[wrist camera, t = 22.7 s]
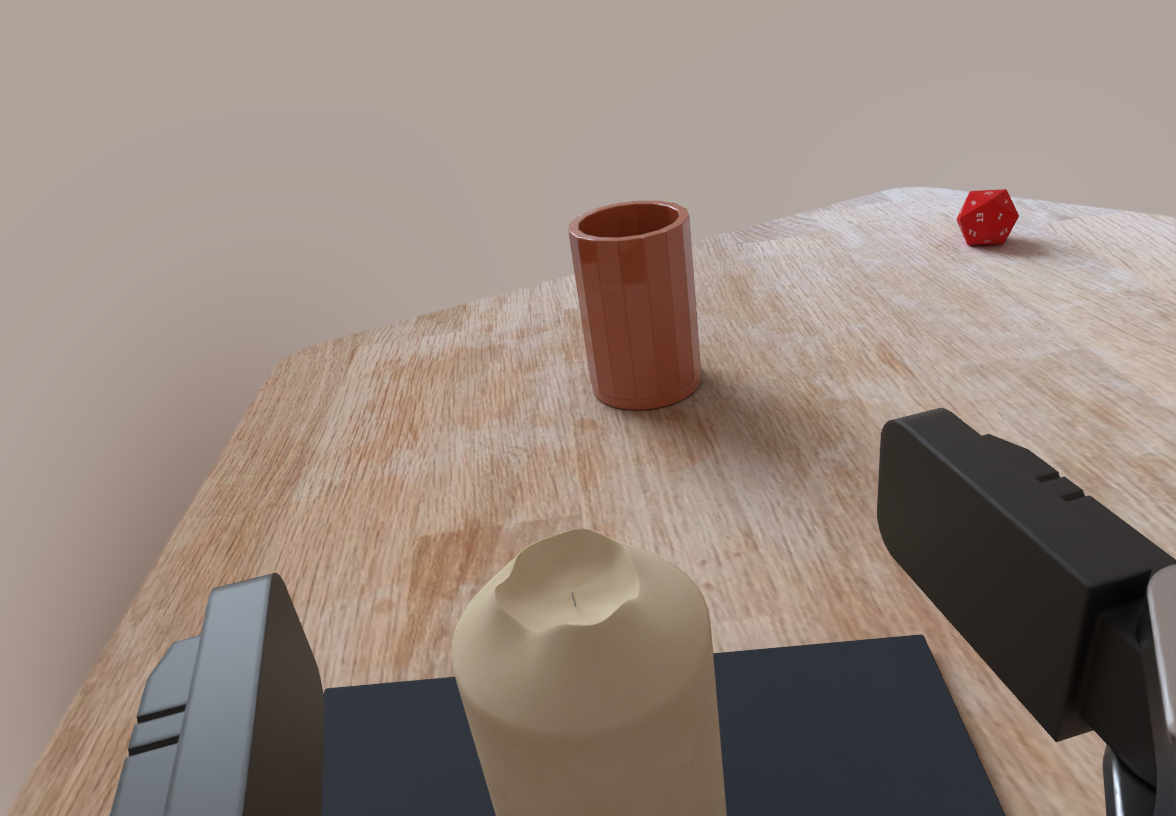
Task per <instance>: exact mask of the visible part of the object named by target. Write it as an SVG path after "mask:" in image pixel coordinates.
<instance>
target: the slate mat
mask: <svg viewBox="0 0 1176 816" xmlns="http://www.w3.org/2000/svg"><path fill="white" fill-rule="evenodd" d="M713 659H714V671H715V682H716V694H717V706H718V718H719V730H720V742H721V753H722V765H723V777H724V789H725V801H726V813H727V816H1005V814H1004V812H1003V809H1002V807H1001V805H1000V803H999V801H998V798H997V796H996V794H995V792H994V790H993V787H992V785H991V783H990V781H989V779H988V776H987V774H986V772H985V770H984V768H983V765H982V763H981V761H980V759H979V757H978V754H977V752H976V750H975V748H974V746H973V743H972V741H971V739H970V737H969V735H968V732H967V730H966V728H965V726H964V724H963V721H962V719H961V717H960V715H959V713H958V710H957V708H956V706H955V704H954V702H953V699H952V697H951V695H950V693H949V691H948V688H947V686H946V684H945V682H944V680H943V677H942V675H941V673H940V671H939V669H938V666H937V664H936V662H935V660H934V658H933V655H932V653H931V651H930V649H929V647H928V644H927V642H926V640H925V638H924V636H923V635H911V636H900V637H889V638H878V639H867V640H856V641H845V642H834V643H823V644H812V645H801V646H790V647H779V648H768V649H757V650H746V651H735V652H724V653H713ZM323 696H324V709H325V716H324V749H323V783H322V816H496V814H495V810H494V807H493V804H492V800H491V797H490V793H489V790H488V787H487V783H486V780H485V777H484V773H483V770H482V766H481V763H480V760H479V756H478V753H477V749H476V746H475V743H474V739H473V736H472V733H471V729H470V726H469V722H468V719H467V716H466V712H465V709H464V706H463V702H462V699H461V695H460V692H459V689H458V685H457V682H456V678H455V677H448V678H437V679H426V680H415V681H404V682H393V683H382V684H371V685H360V686H349V687H338V688H327V689H325V691H324V694H323Z"/></svg>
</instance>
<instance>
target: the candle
mask: <svg viewBox="0 0 1176 816" xmlns="http://www.w3.org/2000/svg"><path fill="white" fill-rule="evenodd" d="M451 660H452V665H453V671H454V675H455V678H456V682H457V685H458V689H459V692H460V695H461V699H462V702H463V706H464V709H465V712H466V716H467V719H468V722H469V726H470V729H471V733H472V736H473V739H474V743H475V746H476V749H477V753H478V756H479V760H480V763H481V766H482V770H483V773H484V777H485V780H486V783H487V787H488V790H489V793H490V797H491V800H492V804H493V807H494V810H495V814H496V816H727V813H726V801H725V789H724V777H723V765H722V753H721V742H720V730H719V718H718V706H717V694H716V682H715V671H714V659H713V647H712V635H711V624H710V617H709V611H708V607H707V605H706V602H705V599H704V597H703V595H702V593H701V592H700V590H699V588H698V587H697V585H696V584H695V583H694V582H693V581H692V579H691V578H690V577H689V576H688V575H687V574H686V573H684V572H683V571H682V570H681V569H680V568H678V567H677V566H675V565H674V564H672V563H671V562H669V561H667V560H665V559H663V558H661V557H660V556H658V555H656V554H653V553H651V552H649V551H646V550H644V549H641V548H638V547H636V546H633V545H630V544H627V543H624V542H621V541H618V540H615V539H612V538H609V537H607V536H605V535H603V534H601V533H599V532H596V531H594V530H591V529H585V528H577V529H572V530H568V531H565V532H562V533H559V534H557V535H554V536H551V537H548V538H545V539H542V540H539V541H537V542H534V543H533V544H531V545H529V546H527V547H526V548H524V549H523V550H521V551H520V553H519V554H518V555H517V556H516V557H515V558H514V559H513V560H512V561H511V562H510V563H509V564H507V565H506V566H505V567H504V568H503V569H502V570H501V571H500V572H499V573H498V574H496V575H495V576H494V577H493V578H492V579H491V580H490V581H489V582H488V583H487V584H486V585H485V586H484V587H483V588H482V589H481V590H480V591H479V592H478V594H477V595H476V596H475V597H474V598H473V599H472V600H471V602H470V603H469V605H468V606H467V607H466V609H465V610H464V612H463V614H462V616H461V618H460V619H459V621H458V624H457V626H456V629H455V632H454V636H453V641H452V646H451Z"/></svg>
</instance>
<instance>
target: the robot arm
mask: <svg viewBox="0 0 1176 816" xmlns="http://www.w3.org/2000/svg"><path fill="white" fill-rule="evenodd" d="M877 519H878V525H879V529H880V533H881V536H882V539H883V541H884V543H885V545H886V547H887V549H888V551H889V553H890V554H891V556H892V557H893V558H894V559H895V560H896V562H897V563H898V564H899V565H900V566H901V567H902V568H903V570H904V571H905V572H906V573H907V574H908V575H909V576H910V577H911V579H912V580H913V581H914V582H915V583H916V584H917V585H918V587H919V588H920V589H921V590H922V591H923V592H924V593H925V594H926V596H927V597H928V598H929V599H930V600H931V601H932V602H933V603H934V605H935V606H936V607H937V608H938V609H939V610H940V611H941V613H942V614H943V615H944V616H945V617H946V618H947V619H948V620H949V622H950V623H951V624H952V625H953V626H954V627H955V628H956V630H957V631H958V632H959V633H960V634H961V635H962V636H963V637H964V639H965V640H966V641H967V642H968V643H969V644H970V645H971V646H972V648H973V649H974V650H975V651H976V652H977V653H978V654H979V656H980V657H981V658H982V659H983V660H984V661H985V662H986V663H987V665H988V666H989V667H990V668H991V669H992V670H993V671H994V673H995V674H996V675H997V676H998V677H999V678H1000V679H1001V680H1002V682H1003V683H1004V684H1005V685H1006V686H1007V687H1008V688H1009V690H1010V691H1011V692H1012V693H1013V694H1014V695H1015V696H1016V697H1017V699H1018V700H1019V701H1020V702H1021V703H1022V704H1023V705H1024V706H1025V708H1026V709H1027V710H1028V711H1029V712H1030V713H1031V714H1032V716H1033V717H1034V718H1035V719H1036V720H1037V721H1038V722H1039V723H1040V725H1041V726H1042V727H1043V728H1044V729H1045V730H1046V731H1047V733H1048V734H1049V735H1050V736H1051V737H1052V738H1053V739H1054V740H1055V742H1058V741H1062V740H1065V739H1068V738H1071V737H1074V736H1077V735H1080V734H1083V733H1087V732H1090V731H1093V730H1094V731H1095V732H1096V733H1097V734H1098V735H1099V736H1100V737H1101V738H1102V739H1103V740H1104V742H1105V743H1106V744H1107V745H1106V749H1105V753H1104V756H1103V776H1104V789H1105V802H1106V815H1107V816H1176V560H1175V559H1174V558H1173V557H1171V556H1170V555H1169V554H1167V553H1166V552H1165V551H1163V550H1162V549H1161V548H1159V547H1158V546H1157V545H1155V544H1154V543H1153V542H1151V541H1150V540H1149V539H1147V538H1146V537H1145V536H1143V535H1142V534H1141V533H1139V532H1138V531H1137V530H1135V529H1134V528H1133V527H1131V526H1130V525H1129V524H1127V523H1126V522H1125V521H1123V520H1122V519H1121V518H1119V517H1118V516H1117V515H1115V514H1114V513H1113V512H1111V511H1110V510H1109V509H1107V508H1106V507H1105V506H1103V505H1102V504H1101V503H1099V502H1098V501H1097V500H1095V499H1094V498H1093V497H1091V496H1085V495H1084V493H1083V490H1082V489H1080V488H1079V487H1078V486H1076V485H1075V484H1074V483H1072V482H1071V481H1070V480H1068V479H1067V478H1066V477H1060V476H1059V472H1058V471H1056V470H1055V469H1054V468H1052V467H1051V466H1050V465H1048V464H1047V463H1046V462H1044V461H1043V460H1042V459H1040V458H1039V457H1038V456H1036V455H1035V454H1034V453H1032V452H1031V451H1030V450H1028V449H1026V448H1023V447H1021V446H1018V445H1015V444H1013V443H1010V442H1008V441H1005V440H1003V439H1000V438H998V437H995V436H993V435H990V434H987V435H983V436H981V435H980V434H979V433H977V432H976V431H975V430H974V429H972V428H971V427H970V426H968V425H967V424H966V423H965V422H963V421H962V420H961V419H959V418H958V417H957V416H956V415H954V414H953V413H952V412H950V411H949V410H947V409H944V408H938V409H934V410H930V411H926V412H922V413H918V414H914V415H910V416H906V417H902V418H898V419H894V420H890V421H888V422H886V424H885V425H884V427H883V429H882V433H881V443H880V463H879V483H878V502H877ZM324 716H325V709H324V696H323V689H322V683H321V679H320V674H319V670H318V667H317V664H316V661H315V658H314V656H313V653H312V651H311V648H310V646H309V643H308V641H307V638H306V636H305V633H304V631H303V628H302V626H301V623H300V621H299V618H298V616H297V613H296V611H295V608H294V606H293V603H292V601H291V598H290V596H289V593H288V591H287V588H286V586H285V583H284V581H283V580H282V578H281V577H280V575H279V574H278V573H273V574H269V575H265V576H261V577H257V578H253V579H249V580H245V581H241V582H237V583H233V584H229V585H225V586H221V587H217V588H214V589H213V590H212V591H211V593H210V595H209V599H208V604H207V608H206V613H205V618H204V623H203V627H202V632H201V635H199V636H195V637H192V638H188V639H184V640H180V641H176V642H174V643H173V644H172V646H171V647H170V648H169V650H168V651H167V652H166V654H165V655H164V656H163V658H162V659H161V661H160V662H159V663H158V665H157V666H156V667H155V669H154V670H153V672H152V673H151V674H150V676H149V677H148V678H147V681H146V684H145V688H144V692H143V695H142V699H141V703H140V706H139V710H138V714H137V721H138V724H136V725H134V728H133V732H132V736H131V739H130V743H129V747H128V751H129V757H126V758H125V761H124V765H123V769H122V772H121V776H120V780H119V784H118V787H117V791H116V795H115V798H114V802H113V806H112V809H111V813H110V816H322V783H323V749H324Z"/></svg>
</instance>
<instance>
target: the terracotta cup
mask: <svg viewBox="0 0 1176 816" xmlns="http://www.w3.org/2000/svg"><path fill="white" fill-rule="evenodd" d="M569 238H570V245H571V251H572V258H573V265H574V272H575V278H576V285H577V292H578V299H579V305H580V312H581V319H582V326H583V332H584V339H585V346H586V353H587V359H588V366H589V373H590V380H591V384H592V389H593V392H594V395H595V396H596V397H597V398H598V399H599V400H600V401H602V402H603V403H605V404H607V405H609V406H613V407H616V408H621V409H629V410H645V409H654V408H660V407H664V406H668V405H671V404H674V403H676V402H679V401H681V400H683V399H685V398H686V397H688V396H689V395H691V394H692V393H693V392H694V391H695V390H696V389H697V388H698V386H699V384H700V381H701V373H700V371H701V364H700V351H699V338H698V324H697V311H696V298H695V285H694V271H693V258H692V245H691V232H690V218H689V214H688V211H687V209H686V208H684V207H682V206H680V205H678V204H675V203H670V202H663V201H633V202H625V203H618V204H612V205H608V206H604V207H600V208H596V209H594V210H591V211H589V212H587V213H584V214H582V215H580V216H578V217H577V218H576V219H574V220H573V221H572V222H571V223H570V224H569Z"/></svg>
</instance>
